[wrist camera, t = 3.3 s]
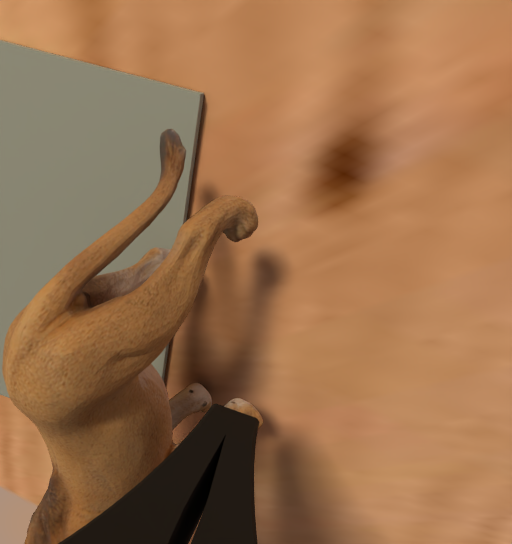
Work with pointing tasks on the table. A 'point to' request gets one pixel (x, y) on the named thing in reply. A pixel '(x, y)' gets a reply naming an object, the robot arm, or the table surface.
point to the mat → (81, 167)
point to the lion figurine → (114, 355)
